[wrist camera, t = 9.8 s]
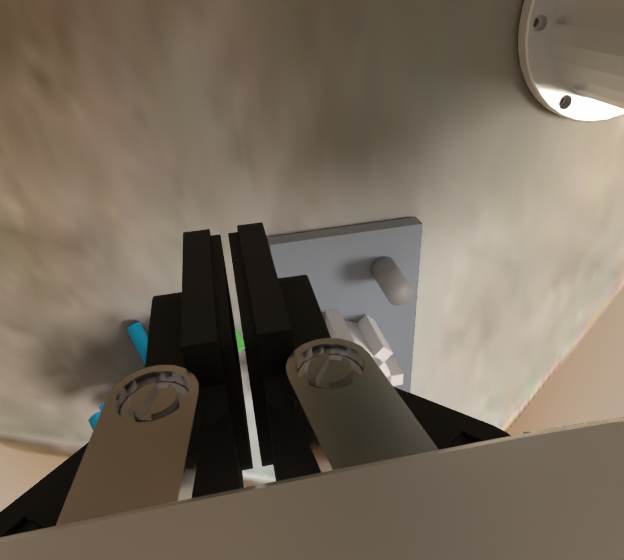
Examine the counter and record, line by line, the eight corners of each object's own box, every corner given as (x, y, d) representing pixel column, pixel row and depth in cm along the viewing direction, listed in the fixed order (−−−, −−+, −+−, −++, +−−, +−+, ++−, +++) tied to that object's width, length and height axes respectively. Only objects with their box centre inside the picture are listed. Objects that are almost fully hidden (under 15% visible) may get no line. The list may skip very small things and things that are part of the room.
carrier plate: (415, 216, 37) (447, 250, 33) (402, 420, 48) (425, 466, 43) (266, 237, 35) (279, 275, 31) (286, 443, 46) (298, 494, 41)
